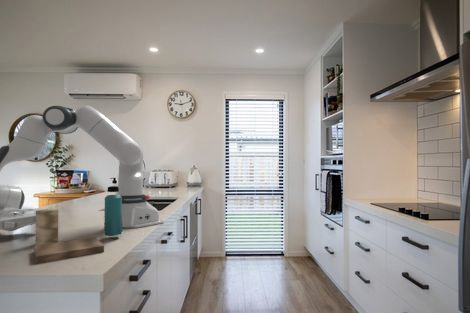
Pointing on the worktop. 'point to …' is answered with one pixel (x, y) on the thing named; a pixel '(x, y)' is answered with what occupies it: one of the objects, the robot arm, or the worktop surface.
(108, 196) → the beverage bottle
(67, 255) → the walnut board
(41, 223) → the oak block
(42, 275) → the worktop surface
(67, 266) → the worktop surface
